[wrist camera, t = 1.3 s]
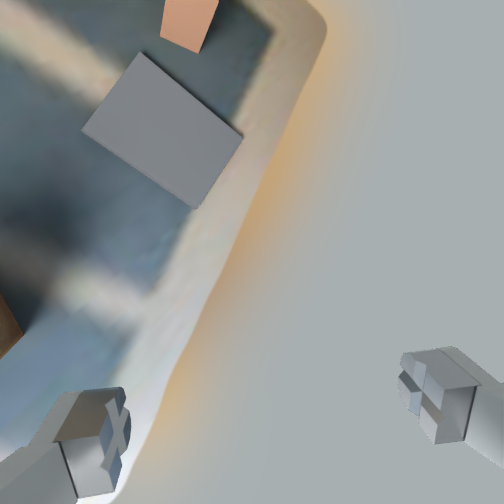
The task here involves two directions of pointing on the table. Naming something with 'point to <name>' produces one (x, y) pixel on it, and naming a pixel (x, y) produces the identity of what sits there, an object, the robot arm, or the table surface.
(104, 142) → the mat
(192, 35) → the block
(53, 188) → the table surface
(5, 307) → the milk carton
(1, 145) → the table surface
